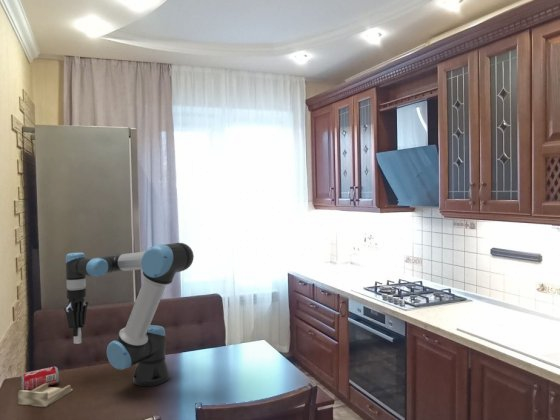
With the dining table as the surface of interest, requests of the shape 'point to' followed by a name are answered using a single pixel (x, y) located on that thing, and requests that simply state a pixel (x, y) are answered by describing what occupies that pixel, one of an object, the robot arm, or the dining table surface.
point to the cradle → (42, 395)
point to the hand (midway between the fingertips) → (77, 343)
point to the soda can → (39, 378)
